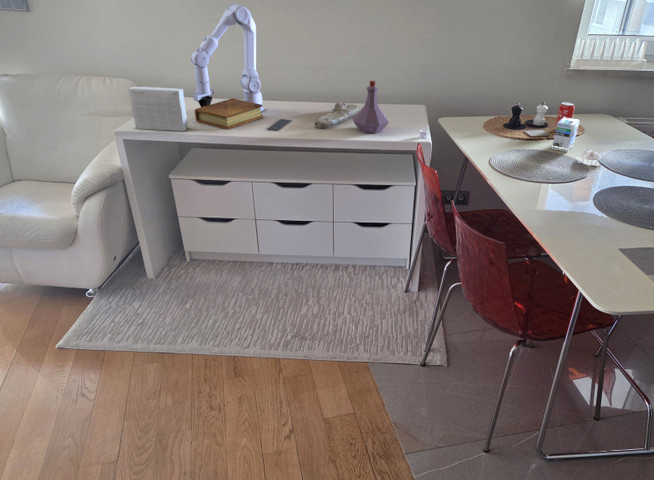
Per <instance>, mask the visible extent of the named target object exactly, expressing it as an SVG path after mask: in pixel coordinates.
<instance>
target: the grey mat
mask: <svg viewBox="0 0 654 480" xmlns="http://www.w3.org/2000/svg"><path fill="white" fill-rule="evenodd" d="M290 122H291V119H283V118H281V119H279V120H278V121H276V122H275V123H274V124H272V125H270V126H269V127H267V130H268V131H276V132H278V131H279V130H281V129H282V128H283V127H284V126H286V125H288V124H289V123H290Z"/></svg>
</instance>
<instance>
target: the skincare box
mask: <svg viewBox="0 0 654 480" xmlns="http://www.w3.org/2000/svg"><path fill="white" fill-rule="evenodd" d="M128 94H129V99H130V105H131V110H132V114H133V119H134V125H135V126H134V127H135V129H136V130H137V129H138V130H155V131H175V132H185V131H186V130H187V129H189V124H188V117H187V110H186V102H185V95H184V89H183V88H175V87H174V88H173V87H172V88H171V87H153V86H152V87H151V86H131V87H129V88H128Z"/></svg>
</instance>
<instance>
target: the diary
mask: <svg viewBox="0 0 654 480" xmlns="http://www.w3.org/2000/svg"><path fill="white" fill-rule="evenodd" d="M261 107H263V108H264V106H262V105H261V104H256V103H252V102H247V101H244V100H243V99H238V98H234V97H233V98H229V99H226V100H222V101H219V102H215V103H211V104H210V105H207V106H204V107H201V106H200V107H197V108H195V109H194V118H195V121H196V122H197V123H200V124H204V125H208V126H213V127H216V128H221V129H225V130H230V129H233V128H236V127H240V126H242V125H246V124H248V123H252V122H254V121H256V120H257V121H258V120H259V119H263V118H264V114H262V111H261Z"/></svg>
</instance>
